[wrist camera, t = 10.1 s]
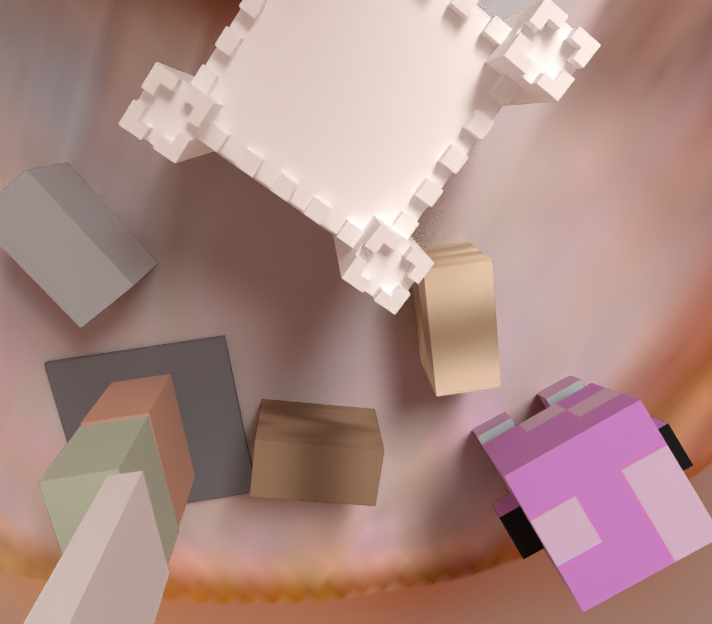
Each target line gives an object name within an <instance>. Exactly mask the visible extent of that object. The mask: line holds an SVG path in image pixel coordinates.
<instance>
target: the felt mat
mask: <svg viewBox="0 0 712 624" xmlns="http://www.w3.org/2000/svg"><path fill="white" fill-rule="evenodd" d="M44 365H45V369H46V372H47V375H48V379H49V382H50V385H51V389H52V392H53V395H54V399H55V402H56V405H57V409H58V412H59V415H60V419H61V422H62V425H63V429H64V432H65V435H66V438H67V442H69V440H70V439H71V438H72V436H73V435H74V434H75V432H76V431H77V430H78V428H79V427H80V426H81V422H82V421H83V419H84V418H85V417H86V415H87V414H88V413H89V411H90V410H91V409H92V407H93V406H94V405H95V404H96V402H97V401H98V400H99V398H100V397H101V396H102V394H103V393H104V392H105V391H106V389H107V388H108V387H109V385H110V384H111V383H112V382H118V381H125V380H132V379H139V378H145V377H152V376H159V375H166V374H171V377H172V381H173V385H174V390H175V394H176V398H177V402H178V407H179V411H180V415H181V419H182V424H183V428H184V432H185V436H186V440H187V445H188V449H189V453H190V457H191V462H192V466H193V470H194V474H195V478H194V481H193V484H192V487H191V490H190V494H189V497H188V500H187V503H188V502H195V501H201V500H208V499H214V498H221V497H227V496H234V495H240V494H247V493H250V488H251V478H252V466H251V461H250V456H249V451H248V446H247V441H246V437H245V432H244V427H243V422H242V417H241V412H240V407H239V403H238V398H237V393H236V388H235V383H234V378H233V374H232V369H231V364H230V359H229V354H228V349H227V344H226V340H225V336H218V337H211V338H204V339H197V340H191V341H184V342H177V343H170V344H164V345H157V346H150V347H143V348H136V349H130V350H123V351H116V352H109V353H102V354H96V355H89V356H82V357H75V358H69V359H62V360H55V361H48V362H46V363H45V364H44Z"/></svg>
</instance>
